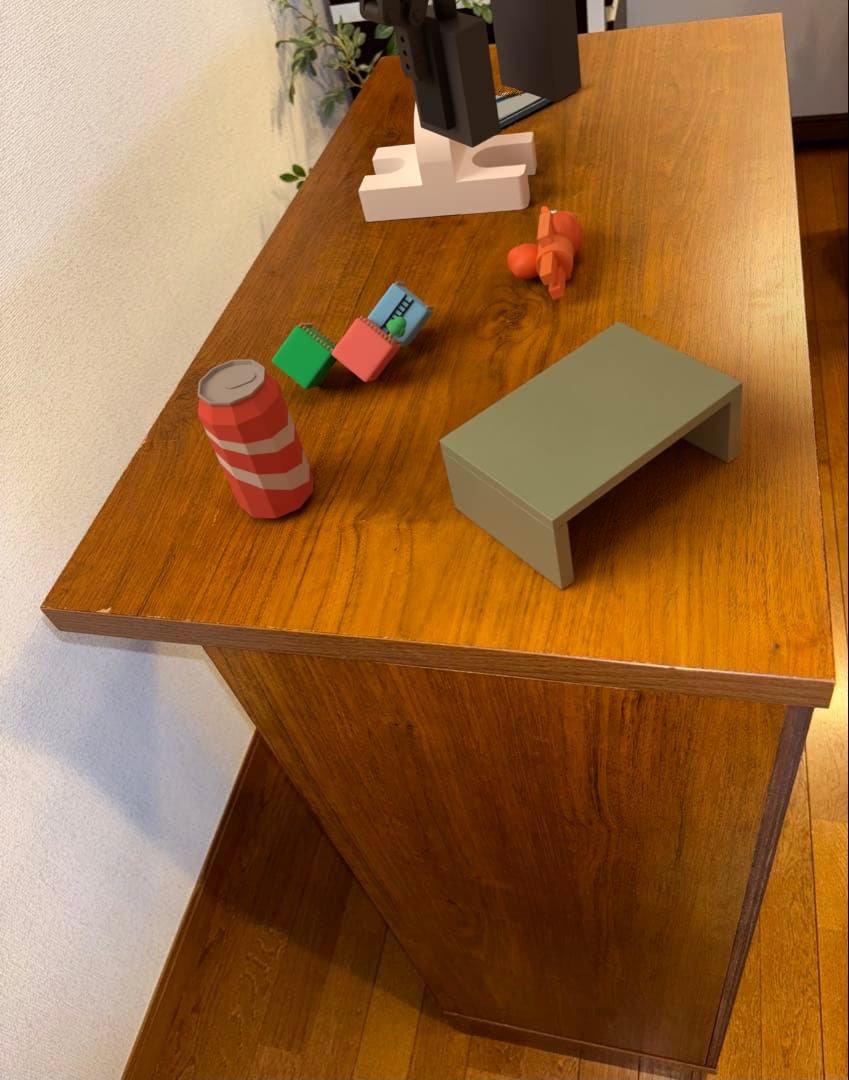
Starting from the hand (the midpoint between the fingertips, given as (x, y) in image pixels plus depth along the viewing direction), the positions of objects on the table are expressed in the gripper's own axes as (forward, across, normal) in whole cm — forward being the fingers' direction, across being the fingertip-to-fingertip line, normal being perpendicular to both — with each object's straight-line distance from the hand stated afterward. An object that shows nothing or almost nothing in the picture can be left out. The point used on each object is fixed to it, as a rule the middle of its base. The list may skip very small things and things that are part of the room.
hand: (499, 91), depth 65 cm
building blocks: (+25, +8, -15) cm, 31 cm away
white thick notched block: (+26, -17, -33) cm, 45 cm away
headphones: (+1, 0, 0) cm, 1 cm away
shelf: (+25, +5, +12) cm, 28 cm away
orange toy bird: (+25, -12, -12) cm, 31 cm away
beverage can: (+25, +23, -6) cm, 35 cm away
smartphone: (+25, -35, -43) cm, 61 cm away
